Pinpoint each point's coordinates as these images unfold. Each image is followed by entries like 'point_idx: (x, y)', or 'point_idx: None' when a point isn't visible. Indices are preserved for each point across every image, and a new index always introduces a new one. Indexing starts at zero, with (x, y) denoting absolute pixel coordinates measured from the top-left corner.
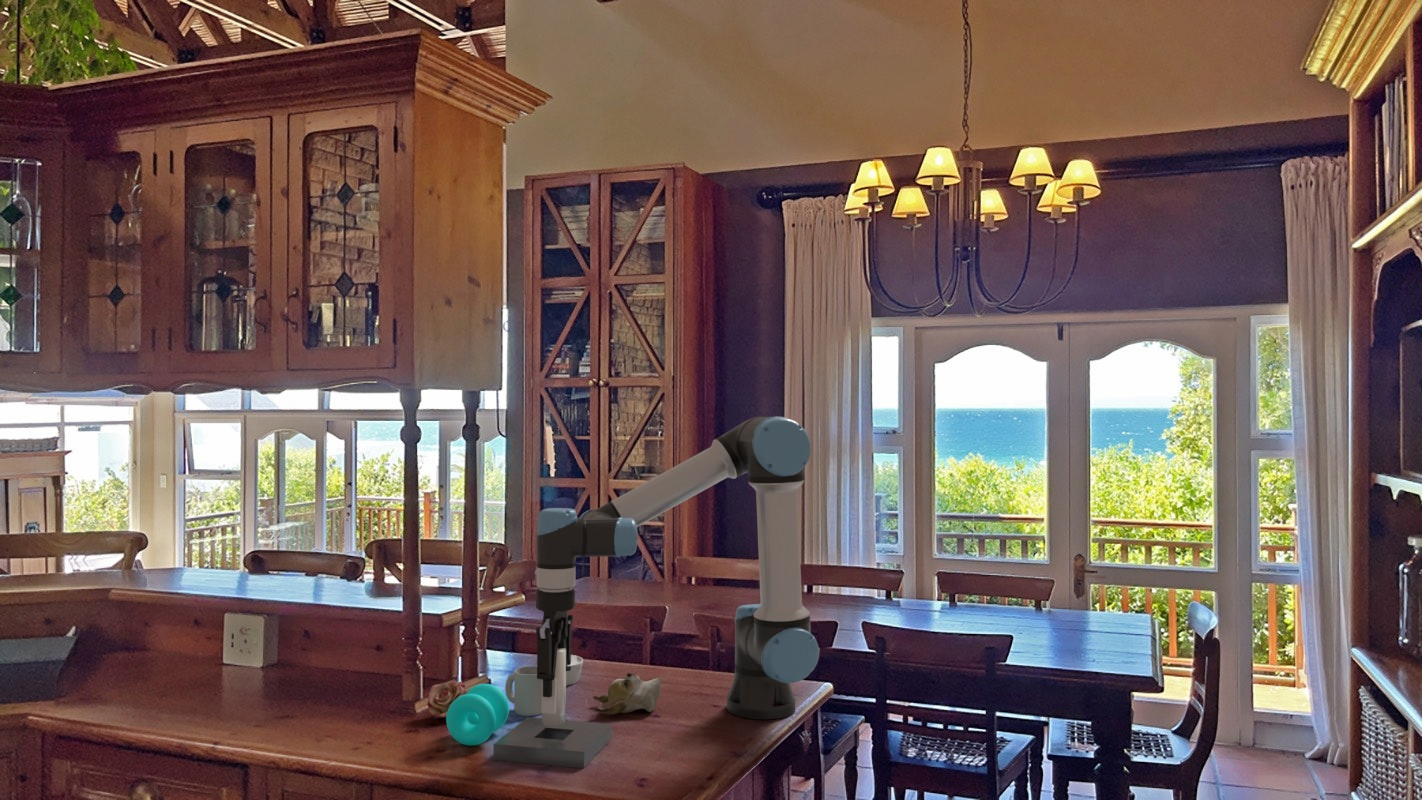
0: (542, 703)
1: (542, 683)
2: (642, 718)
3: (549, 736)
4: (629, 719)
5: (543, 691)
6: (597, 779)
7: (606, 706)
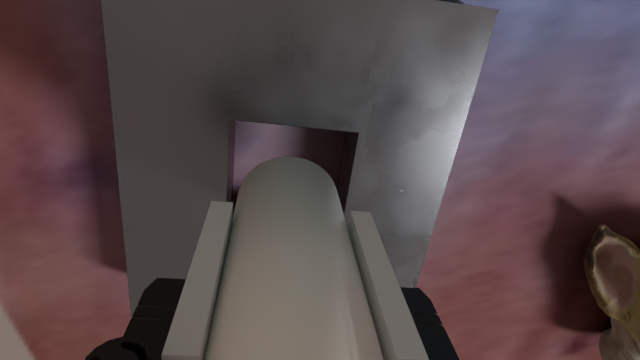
0: (201, 233)
1: (174, 324)
2: (561, 322)
3: (350, 136)
4: (558, 296)
5: (138, 309)
6: (81, 326)
7: (623, 255)
